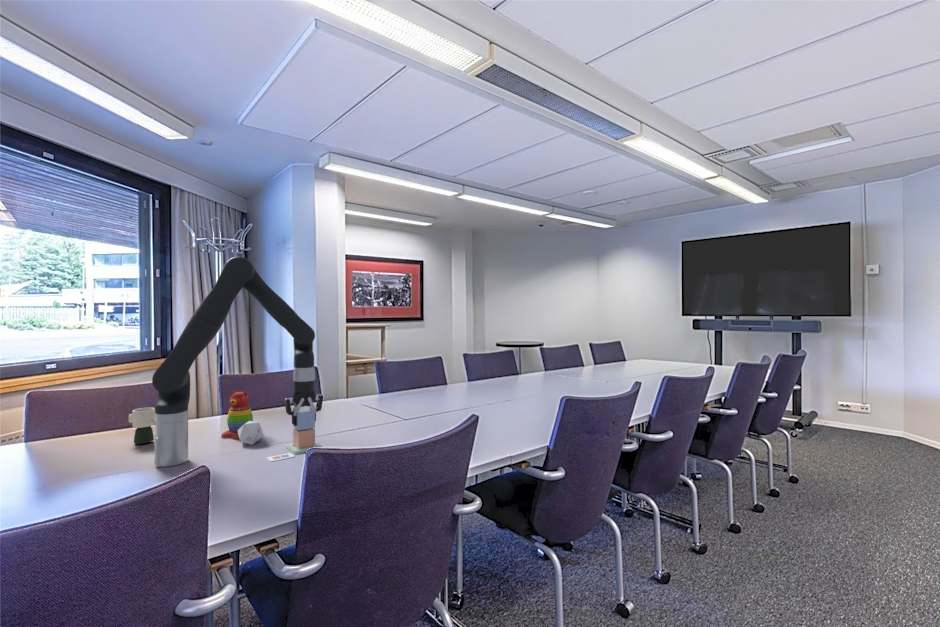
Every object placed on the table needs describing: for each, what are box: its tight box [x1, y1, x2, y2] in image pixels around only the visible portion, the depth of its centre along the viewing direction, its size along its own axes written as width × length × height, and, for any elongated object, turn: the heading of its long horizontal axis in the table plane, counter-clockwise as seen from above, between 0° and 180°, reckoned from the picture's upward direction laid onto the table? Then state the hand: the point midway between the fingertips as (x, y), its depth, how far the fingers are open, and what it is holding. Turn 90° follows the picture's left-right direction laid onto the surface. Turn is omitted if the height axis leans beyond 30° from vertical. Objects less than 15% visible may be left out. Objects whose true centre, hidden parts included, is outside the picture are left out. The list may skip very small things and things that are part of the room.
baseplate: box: [285, 441, 323, 455], centre depth 166 cm, size 10×10×1 cm
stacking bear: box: [221, 391, 254, 440], centre depth 182 cm, size 11×10×18 cm
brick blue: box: [292, 408, 316, 430], centre depth 166 cm, size 6×6×6 cm
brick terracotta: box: [292, 427, 316, 448], centre depth 166 cm, size 6×6×6 cm
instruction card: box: [266, 452, 296, 463], centre depth 156 cm, size 8×5×1 cm, turn 129°
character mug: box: [128, 406, 155, 445], centre depth 171 cm, size 11×7×13 cm, turn 94°
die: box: [237, 420, 265, 446], centre depth 172 cm, size 8×9×10 cm
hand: (304, 424), depth 166 cm, fingers closed on brick blue, 5 cm apart
